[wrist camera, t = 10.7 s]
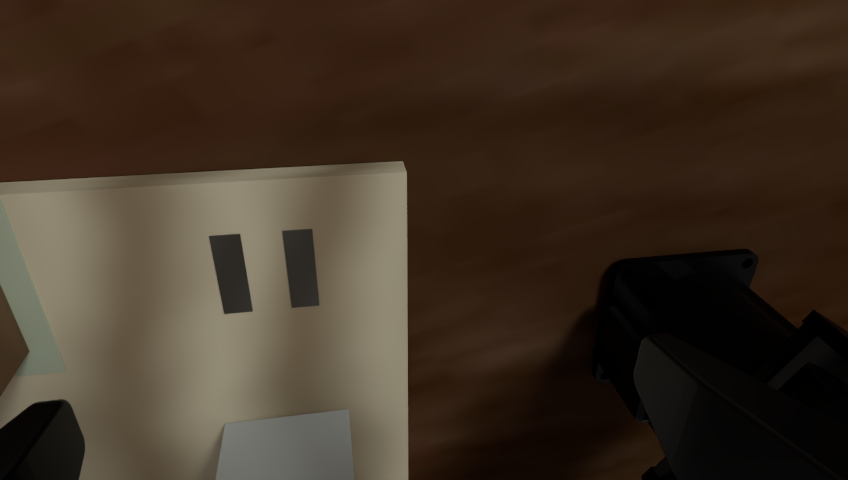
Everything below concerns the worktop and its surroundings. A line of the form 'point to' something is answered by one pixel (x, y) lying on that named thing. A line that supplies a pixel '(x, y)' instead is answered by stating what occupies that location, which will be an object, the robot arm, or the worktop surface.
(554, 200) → the worktop surface
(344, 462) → the grey block
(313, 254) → the board
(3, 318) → the walnut block
